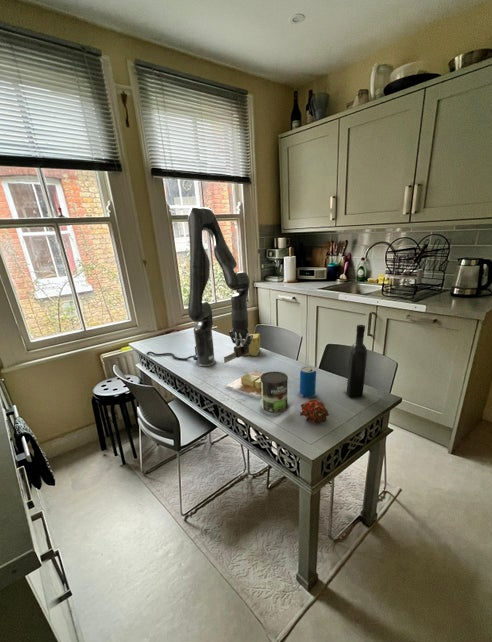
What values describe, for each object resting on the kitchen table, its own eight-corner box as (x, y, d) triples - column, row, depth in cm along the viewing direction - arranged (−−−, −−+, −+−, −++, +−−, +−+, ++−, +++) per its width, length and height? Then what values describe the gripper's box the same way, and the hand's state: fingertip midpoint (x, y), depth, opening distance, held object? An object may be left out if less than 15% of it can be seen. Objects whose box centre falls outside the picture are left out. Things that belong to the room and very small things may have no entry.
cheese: (257, 356, 176) (256, 339, 172) (238, 355, 178) (237, 338, 174) (260, 349, 185) (260, 333, 181) (242, 349, 188) (242, 333, 183)
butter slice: (255, 387, 139) (255, 381, 138) (261, 383, 142) (261, 377, 141) (258, 388, 138) (258, 382, 137) (265, 384, 141) (265, 378, 140)
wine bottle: (345, 391, 135) (351, 323, 123) (359, 391, 135) (366, 323, 122) (349, 398, 130) (355, 328, 117) (363, 398, 129) (371, 327, 117)
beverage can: (311, 400, 130) (312, 373, 125) (297, 396, 133) (297, 370, 128) (317, 393, 135) (318, 367, 130) (303, 390, 138) (304, 365, 133)
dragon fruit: (325, 432, 112) (302, 421, 122) (337, 412, 114) (313, 404, 124) (314, 420, 107) (290, 410, 117) (327, 399, 110) (302, 391, 119)
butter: (241, 382, 144) (240, 376, 143) (247, 379, 147) (247, 373, 146) (253, 386, 140) (252, 380, 138) (259, 382, 143) (259, 376, 142)
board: (226, 388, 143) (226, 385, 142) (254, 372, 157) (254, 369, 156) (257, 399, 132) (257, 396, 132) (284, 381, 146) (284, 378, 146)
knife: (222, 362, 144) (221, 352, 142) (245, 351, 155) (244, 342, 153) (226, 363, 143) (225, 353, 141) (249, 352, 154) (248, 343, 152)
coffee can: (292, 411, 122) (292, 379, 117) (268, 418, 119) (267, 385, 113) (280, 399, 131) (279, 369, 125) (257, 406, 127) (256, 374, 122)
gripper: (256, 318, 143) (257, 353, 150) (234, 313, 151) (236, 347, 158) (246, 322, 138) (247, 358, 145) (223, 317, 146) (225, 352, 153)
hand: (241, 352), depth 151 cm, fingers closed on knife, 2 cm apart
